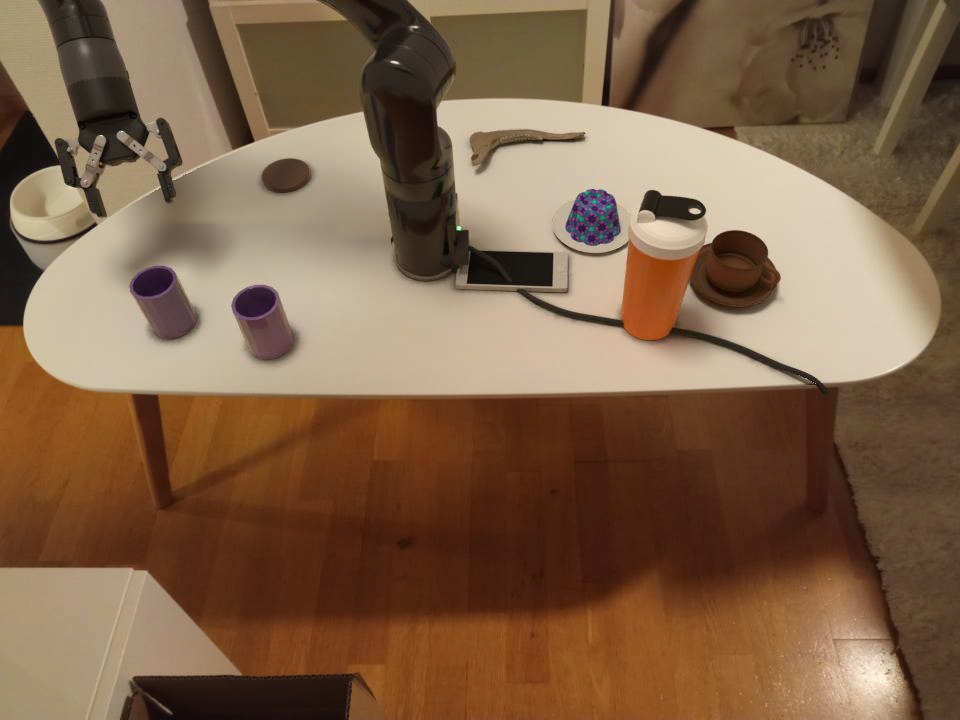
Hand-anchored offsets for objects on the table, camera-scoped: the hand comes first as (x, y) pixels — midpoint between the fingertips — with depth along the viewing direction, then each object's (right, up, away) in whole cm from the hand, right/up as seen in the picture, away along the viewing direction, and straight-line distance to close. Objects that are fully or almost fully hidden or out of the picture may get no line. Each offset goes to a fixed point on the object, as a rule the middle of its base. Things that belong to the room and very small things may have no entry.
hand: (136, 209), depth 99 cm
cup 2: (+17, -17, +2) cm, 24 cm away
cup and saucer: (+79, -9, +6) cm, 80 cm away
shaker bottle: (+67, -14, +2) cm, 69 cm away
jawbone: (+52, +14, +25) cm, 59 cm away
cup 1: (+3, -14, +5) cm, 16 cm away
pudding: (+61, 0, +14) cm, 63 cm away
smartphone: (+49, -7, +8) cm, 51 cm away
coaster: (+14, +10, +23) cm, 28 cm away
